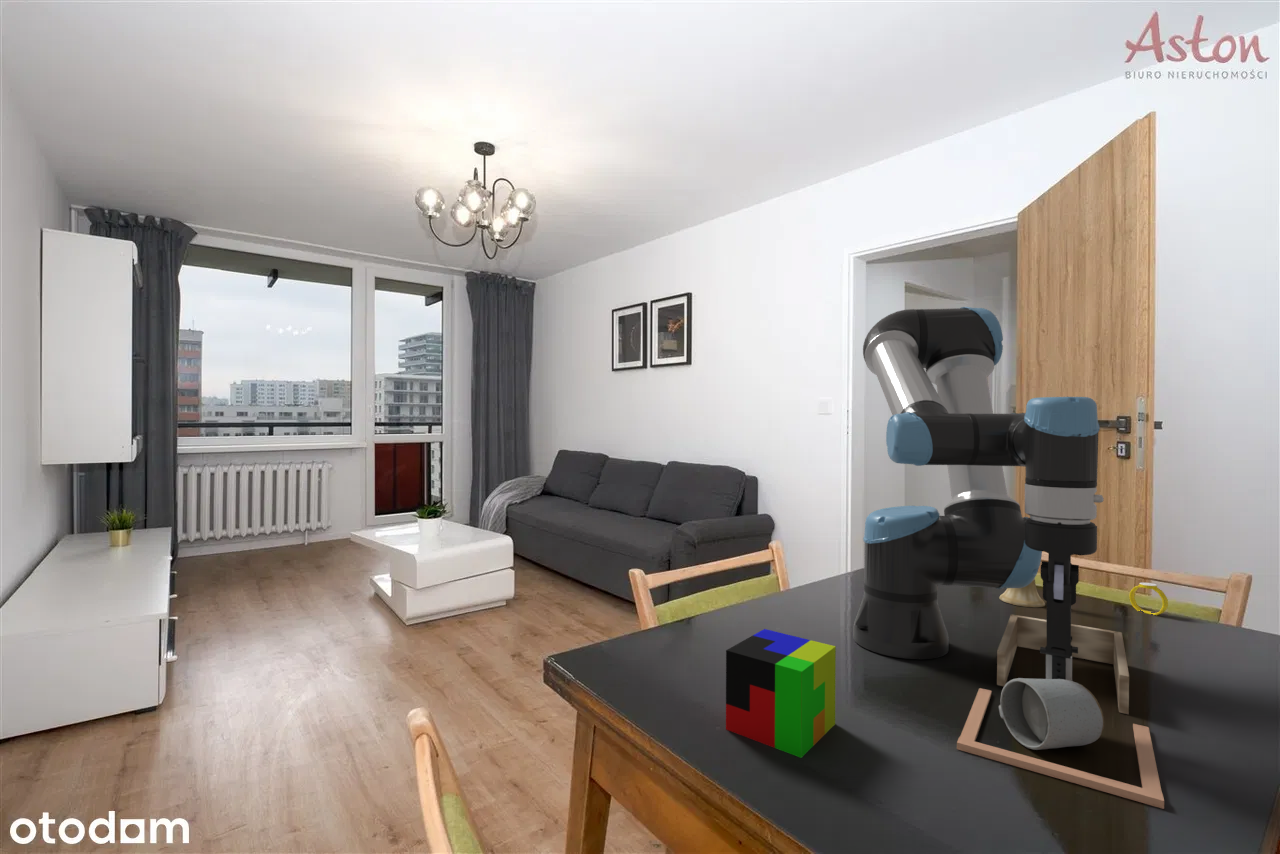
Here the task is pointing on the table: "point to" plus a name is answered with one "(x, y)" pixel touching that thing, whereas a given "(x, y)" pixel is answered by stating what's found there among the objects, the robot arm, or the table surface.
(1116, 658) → the frame
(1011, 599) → the hand bell
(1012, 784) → the table surface
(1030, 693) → the ceramic mug
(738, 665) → the puzzle toy
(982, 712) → the terracotta bay
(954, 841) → the table surface
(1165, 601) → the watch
